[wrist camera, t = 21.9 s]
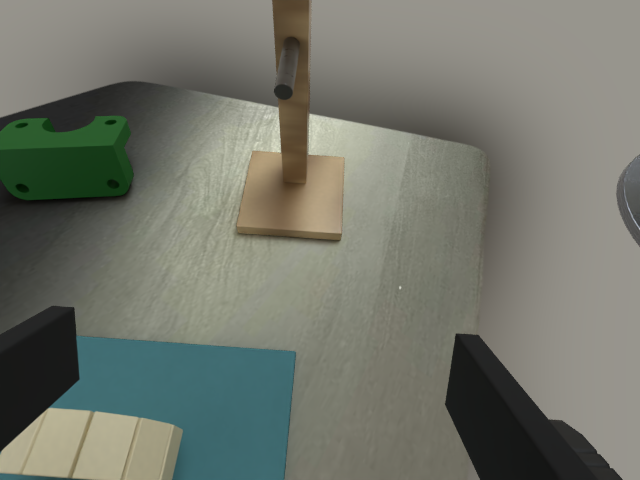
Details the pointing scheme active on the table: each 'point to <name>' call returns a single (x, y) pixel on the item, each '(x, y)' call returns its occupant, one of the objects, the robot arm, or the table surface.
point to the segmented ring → (93, 447)
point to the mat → (193, 401)
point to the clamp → (65, 159)
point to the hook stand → (293, 148)
